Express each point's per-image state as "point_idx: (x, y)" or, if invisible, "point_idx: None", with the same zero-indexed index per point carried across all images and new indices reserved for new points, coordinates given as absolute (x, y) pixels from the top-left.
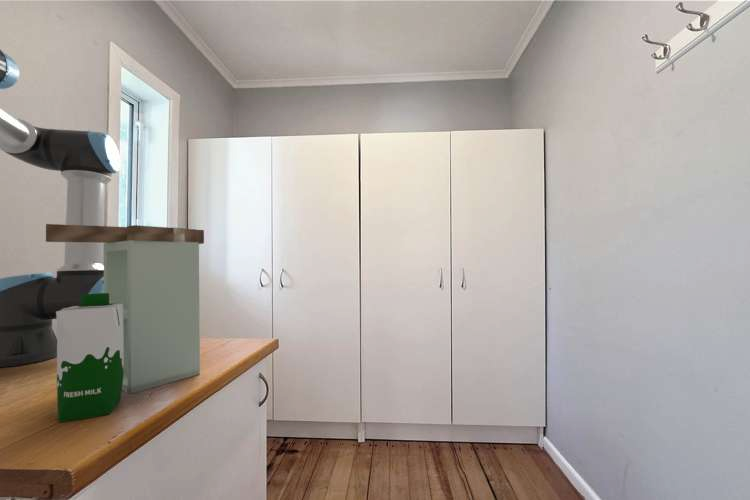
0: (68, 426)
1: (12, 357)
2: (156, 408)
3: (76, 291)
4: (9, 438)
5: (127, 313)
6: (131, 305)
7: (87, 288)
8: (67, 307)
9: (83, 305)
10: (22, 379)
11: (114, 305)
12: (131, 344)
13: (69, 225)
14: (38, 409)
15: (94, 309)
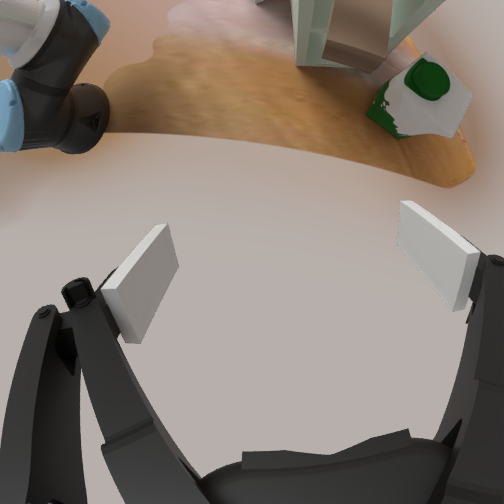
0: (413, 139)
1: (99, 127)
2: None
3: (77, 42)
4: (400, 172)
5: (392, 37)
6: (407, 34)
7: (82, 26)
8: (85, 60)
9: (435, 98)
10: (184, 121)
11: (455, 78)
12: (388, 53)
13: (390, 13)
14: (341, 135)
15: (467, 107)
